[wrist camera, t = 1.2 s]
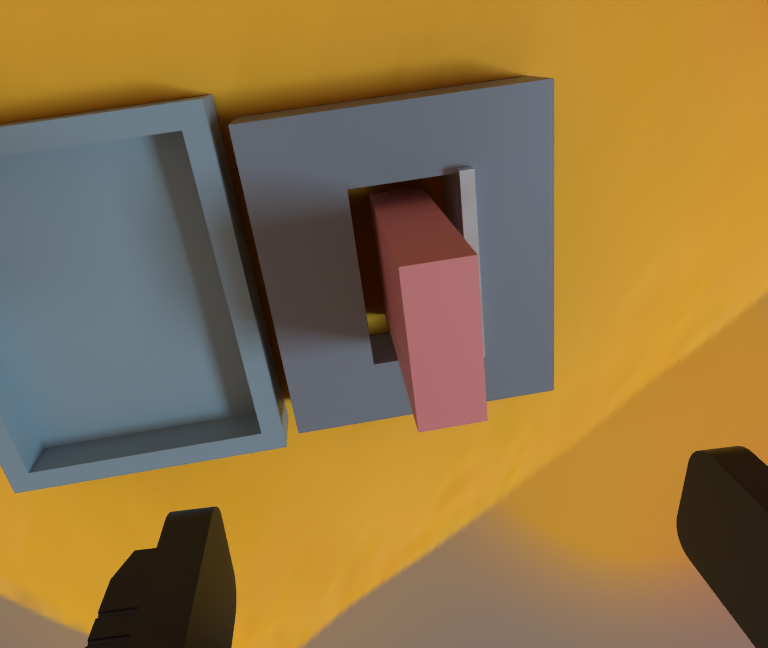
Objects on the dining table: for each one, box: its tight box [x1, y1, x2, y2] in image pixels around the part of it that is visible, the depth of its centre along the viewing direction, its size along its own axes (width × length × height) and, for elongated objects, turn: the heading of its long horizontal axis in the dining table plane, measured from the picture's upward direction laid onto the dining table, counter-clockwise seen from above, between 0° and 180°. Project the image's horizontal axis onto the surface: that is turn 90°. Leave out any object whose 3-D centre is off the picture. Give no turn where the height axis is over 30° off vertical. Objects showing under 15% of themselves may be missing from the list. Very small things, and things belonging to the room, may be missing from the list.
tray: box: [0, 94, 288, 493], centre depth 26 cm, size 13×16×2 cm
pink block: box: [369, 186, 487, 432], centre depth 23 cm, size 2×6×10 cm, turn 7°
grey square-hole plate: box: [228, 76, 554, 433], centre depth 26 cm, size 12×14×4 cm
